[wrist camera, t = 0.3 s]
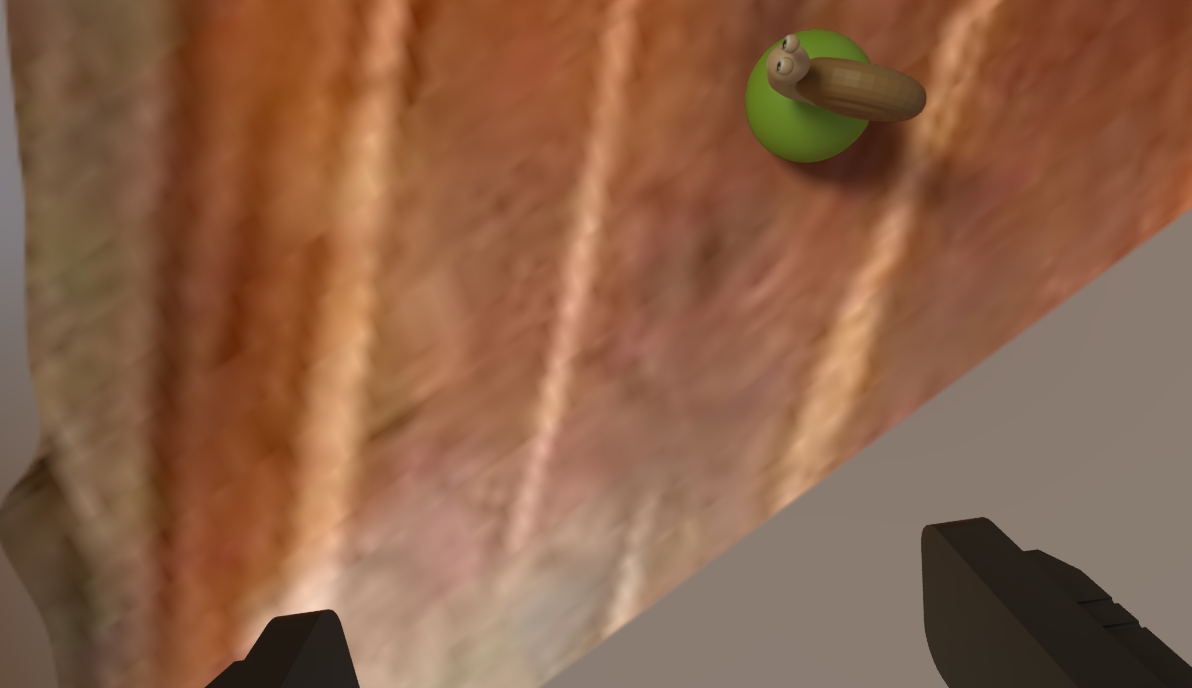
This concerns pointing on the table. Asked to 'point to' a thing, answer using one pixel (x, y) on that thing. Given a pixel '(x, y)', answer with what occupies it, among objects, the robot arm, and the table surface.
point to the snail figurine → (823, 96)
